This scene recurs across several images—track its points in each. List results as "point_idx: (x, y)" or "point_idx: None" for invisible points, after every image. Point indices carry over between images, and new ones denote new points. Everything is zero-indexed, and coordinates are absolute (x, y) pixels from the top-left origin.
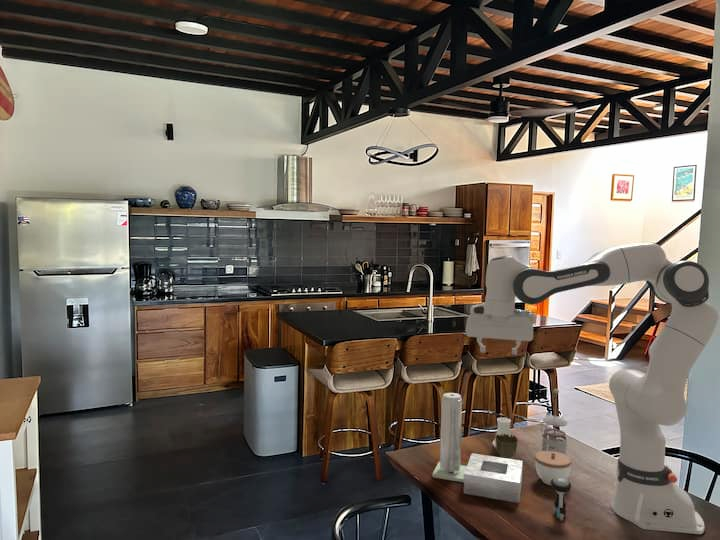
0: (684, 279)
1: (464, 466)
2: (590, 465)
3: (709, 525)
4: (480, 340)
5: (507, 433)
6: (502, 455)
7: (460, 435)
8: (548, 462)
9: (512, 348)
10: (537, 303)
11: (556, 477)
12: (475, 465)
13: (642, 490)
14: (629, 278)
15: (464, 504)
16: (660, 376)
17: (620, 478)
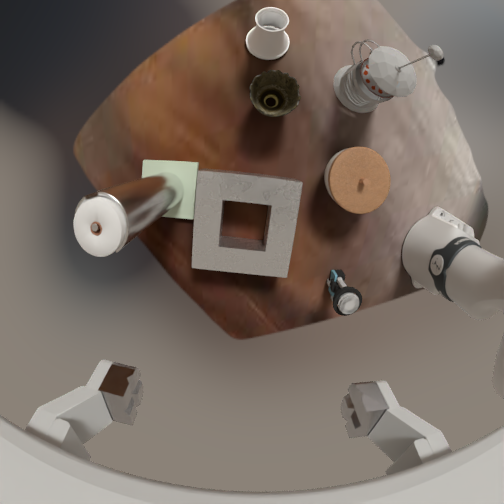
0: None
1: (190, 166)
2: (410, 107)
3: None
4: (83, 454)
5: (278, 39)
6: (264, 112)
7: (163, 208)
8: (349, 207)
9: (360, 425)
10: None
11: (345, 300)
12: (208, 228)
13: (439, 293)
14: None
15: (202, 286)
16: None
17: (431, 275)
